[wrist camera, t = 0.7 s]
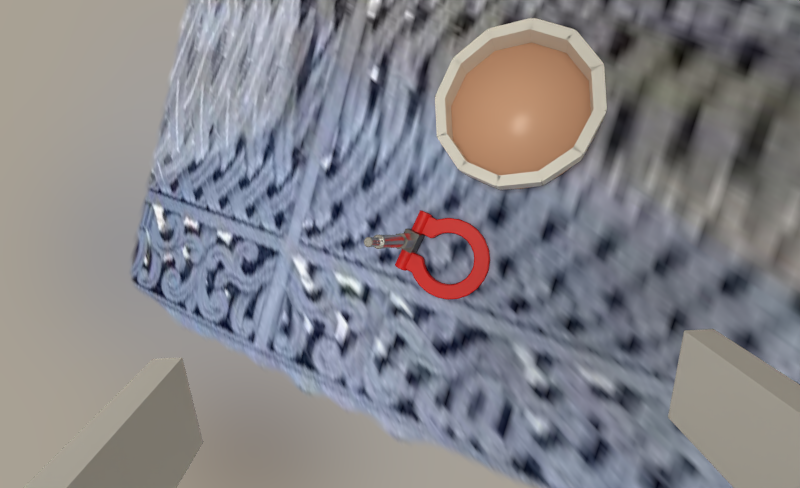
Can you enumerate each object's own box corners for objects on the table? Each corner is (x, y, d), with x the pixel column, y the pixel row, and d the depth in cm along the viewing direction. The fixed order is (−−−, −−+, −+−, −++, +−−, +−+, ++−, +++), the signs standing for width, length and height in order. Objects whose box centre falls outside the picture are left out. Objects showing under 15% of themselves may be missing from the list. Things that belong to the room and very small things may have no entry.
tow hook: (504, 240, 40) (425, 202, 43) (490, 241, 28) (381, 188, 31) (468, 312, 41) (393, 271, 44) (439, 343, 29) (338, 284, 32)
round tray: (484, 19, 41) (478, 2, 38) (633, 64, 36) (640, 47, 33) (420, 155, 43) (411, 148, 40) (552, 214, 38) (552, 211, 35)
